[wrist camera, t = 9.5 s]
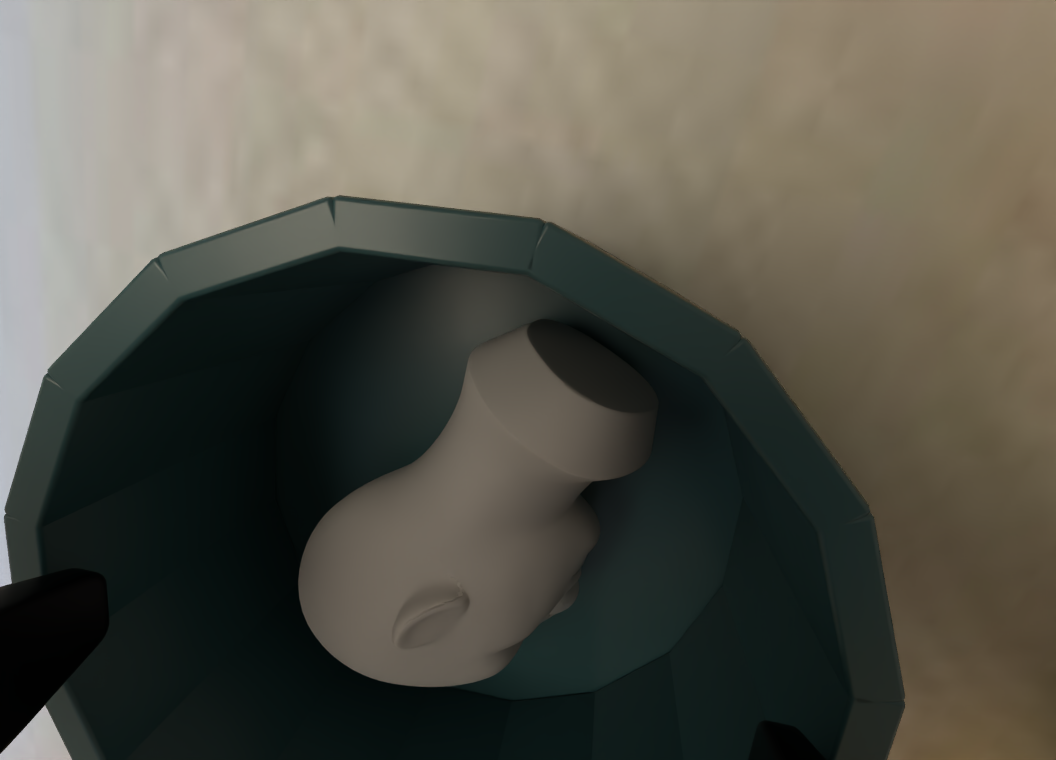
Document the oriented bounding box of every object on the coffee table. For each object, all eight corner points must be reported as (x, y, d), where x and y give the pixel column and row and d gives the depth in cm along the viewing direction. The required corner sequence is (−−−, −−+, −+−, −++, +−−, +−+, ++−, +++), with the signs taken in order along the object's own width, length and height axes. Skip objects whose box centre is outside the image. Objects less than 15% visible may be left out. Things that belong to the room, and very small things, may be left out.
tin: (703, 748, 14) (767, 1112, 8) (265, 647, 15) (46, 891, 9) (820, 266, 11) (1055, 278, 5) (267, 200, 12) (-45, 150, 6)
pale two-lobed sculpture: (469, 610, 15) (298, 514, 13) (695, 404, 12) (523, 255, 11) (462, 789, 11) (215, 685, 9) (790, 537, 8) (541, 335, 7)
